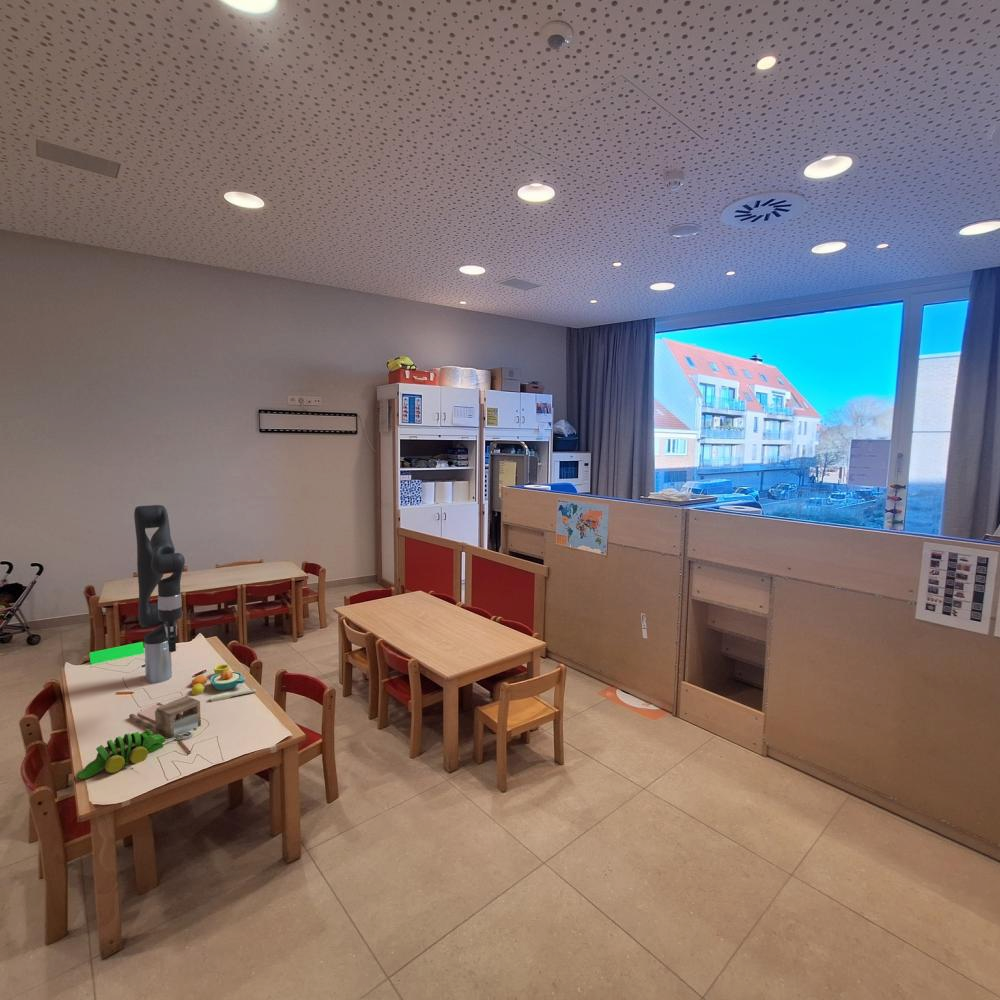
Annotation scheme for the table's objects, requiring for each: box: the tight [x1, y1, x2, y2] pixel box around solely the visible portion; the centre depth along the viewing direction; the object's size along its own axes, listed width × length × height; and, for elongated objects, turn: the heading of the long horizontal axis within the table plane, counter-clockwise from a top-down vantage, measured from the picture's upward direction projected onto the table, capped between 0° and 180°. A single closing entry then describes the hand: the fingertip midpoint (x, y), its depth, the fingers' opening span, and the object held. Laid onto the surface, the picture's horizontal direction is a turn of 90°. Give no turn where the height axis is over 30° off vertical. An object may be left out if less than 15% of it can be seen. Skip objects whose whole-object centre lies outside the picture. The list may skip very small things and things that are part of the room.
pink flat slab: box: [136, 704, 177, 724], centre depth 192 cm, size 12×7×3 cm, turn 62°
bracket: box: [88, 641, 145, 665], centre depth 243 cm, size 20×10×7 cm, turn 132°
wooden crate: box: [128, 695, 202, 739], centre depth 190 cm, size 26×10×9 cm, turn 62°
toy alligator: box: [76, 728, 194, 780], centre depth 170 cm, size 10×32×9 cm, turn 142°
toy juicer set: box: [191, 663, 257, 703], centre depth 215 cm, size 29×18×8 cm, turn 51°
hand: (171, 647), depth 198 cm, fingers open, 8 cm apart
